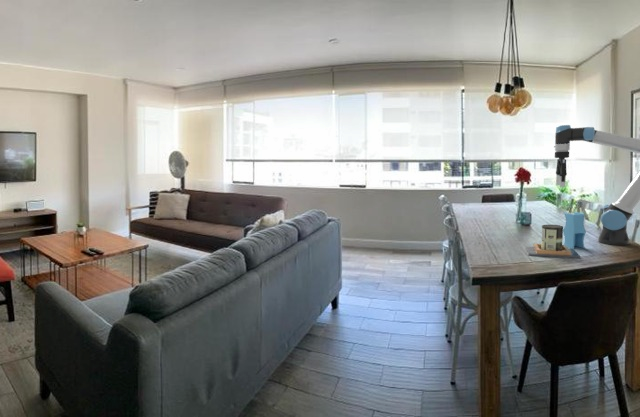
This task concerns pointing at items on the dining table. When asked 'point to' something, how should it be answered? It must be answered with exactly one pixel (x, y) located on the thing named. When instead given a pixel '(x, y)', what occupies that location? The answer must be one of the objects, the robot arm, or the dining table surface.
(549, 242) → the coffee can
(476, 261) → the dining table surface
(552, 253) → the collar plate
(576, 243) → the open-sided blue scoop
